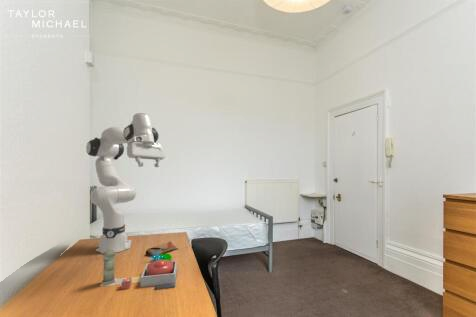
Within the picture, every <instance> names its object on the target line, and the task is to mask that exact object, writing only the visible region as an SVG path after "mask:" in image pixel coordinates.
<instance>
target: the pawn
mask: <svg viewBox="0 0 476 317" xmlns="http://www.w3.org/2000/svg"><path fill="white" fill-rule="evenodd" d="M102 254H103V253H102ZM102 258H103V279H102V281H101V284H102V285H108V286H111V285H110V284H113V283H114V282H115V279H116V277H115V258H116V253H115V251H114V250H112V249H109V250H107V251H105V252H104V254H103V255H102ZM115 283H116V282H115ZM115 283H114V284H115Z"/></svg>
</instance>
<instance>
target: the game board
mask: <svg viewBox="0 0 476 317" xmlns="http://www.w3.org/2000/svg"><path fill="white" fill-rule="evenodd" d="M171 261H172V262H173V273H172V274H162V275H152V276H147V266H148V265H149V264H150V263H151V262H149V263H148V262H147V263H146V265H145V268H144V269H143V271H142V274H141V276H133V277H131V276H130V277H123V278H115V282H114V283H113V284H110V285H102V283H101V284H100V285H99V287H106V286H108V287H109V286H115V285H117V286H118V285H121V290H128V289H130V288H131V287H132V284H136V283H140V287H141V288H144V287H153V286H154V288H153V290H155V291H156V290H162V289H172V288H173V289H174V288H175V287H176V283H177V275H178V266H177V265H178V260H171Z"/></svg>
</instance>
